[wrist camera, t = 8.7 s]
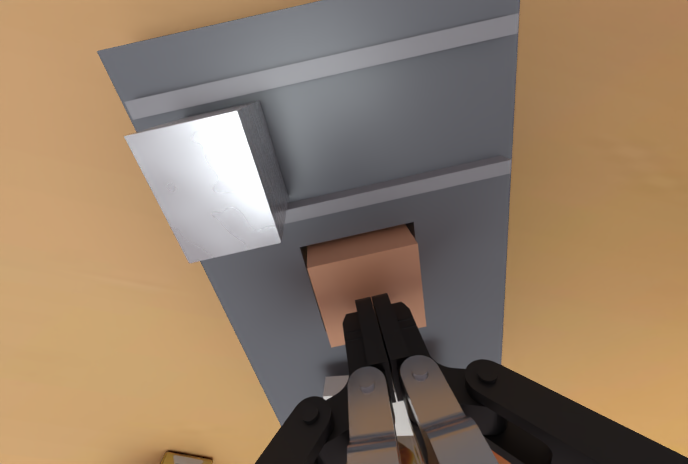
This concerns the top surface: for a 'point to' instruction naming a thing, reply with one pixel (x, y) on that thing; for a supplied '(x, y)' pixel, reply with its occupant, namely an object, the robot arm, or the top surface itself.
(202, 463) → the candy box
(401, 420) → the block
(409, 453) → the coffee box
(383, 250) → the push button
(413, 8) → the panel
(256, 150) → the slider knob
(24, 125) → the top surface
